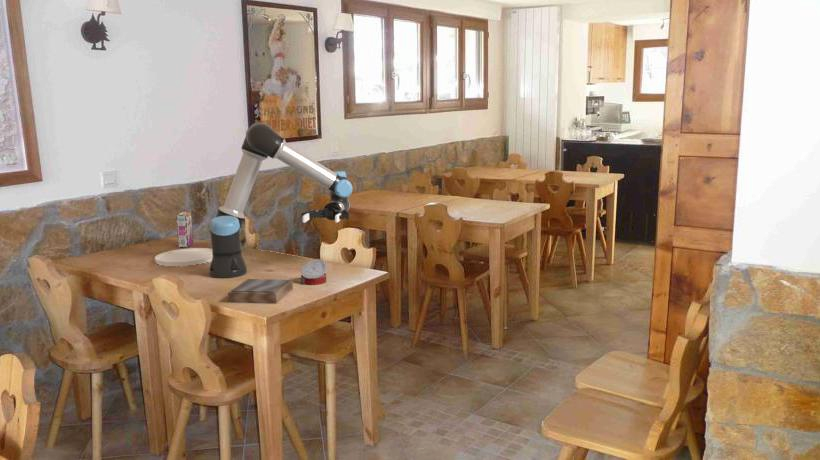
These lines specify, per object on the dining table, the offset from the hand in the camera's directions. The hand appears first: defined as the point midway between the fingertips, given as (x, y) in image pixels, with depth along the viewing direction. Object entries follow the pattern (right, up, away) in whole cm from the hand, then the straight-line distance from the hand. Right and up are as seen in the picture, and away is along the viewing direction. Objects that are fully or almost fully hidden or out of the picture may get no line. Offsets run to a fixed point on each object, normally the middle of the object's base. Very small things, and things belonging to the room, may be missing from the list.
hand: (319, 219), depth 276 cm
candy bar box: (-76, -12, +67) cm, 102 cm away
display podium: (-18, -29, -23) cm, 41 cm away
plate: (-66, -18, +38) cm, 78 cm away
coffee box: (-47, -14, +56) cm, 75 cm away
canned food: (-1, -25, -6) cm, 26 cm away
